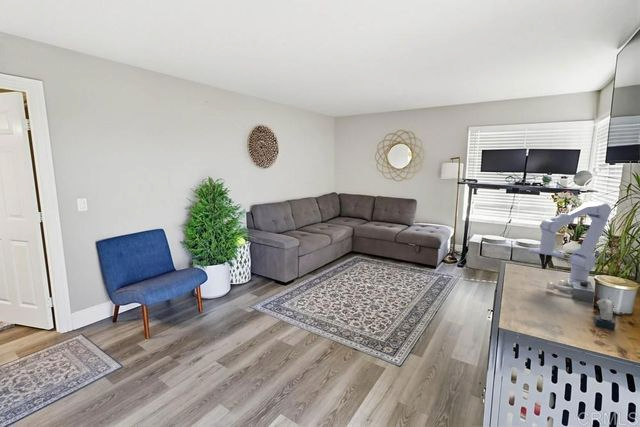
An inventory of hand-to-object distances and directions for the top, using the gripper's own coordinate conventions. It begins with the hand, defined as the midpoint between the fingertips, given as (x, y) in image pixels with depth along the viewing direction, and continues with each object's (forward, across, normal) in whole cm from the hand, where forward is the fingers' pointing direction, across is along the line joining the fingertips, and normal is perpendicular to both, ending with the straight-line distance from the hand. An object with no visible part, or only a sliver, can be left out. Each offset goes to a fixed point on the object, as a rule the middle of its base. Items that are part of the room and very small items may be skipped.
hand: (543, 268), depth 162 cm
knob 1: (+8, +8, -7) cm, 13 cm away
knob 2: (+8, +13, 0) cm, 15 cm away
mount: (+9, +16, -4) cm, 19 cm away
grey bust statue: (+9, +20, -35) cm, 41 cm away
